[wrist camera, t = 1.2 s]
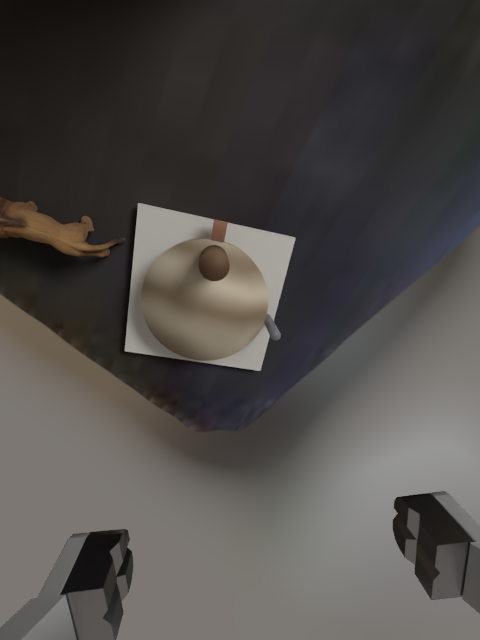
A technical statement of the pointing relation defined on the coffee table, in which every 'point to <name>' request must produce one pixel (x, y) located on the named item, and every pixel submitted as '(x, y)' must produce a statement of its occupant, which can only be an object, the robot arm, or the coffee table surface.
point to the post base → (175, 227)
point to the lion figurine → (49, 230)
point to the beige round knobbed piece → (204, 298)
